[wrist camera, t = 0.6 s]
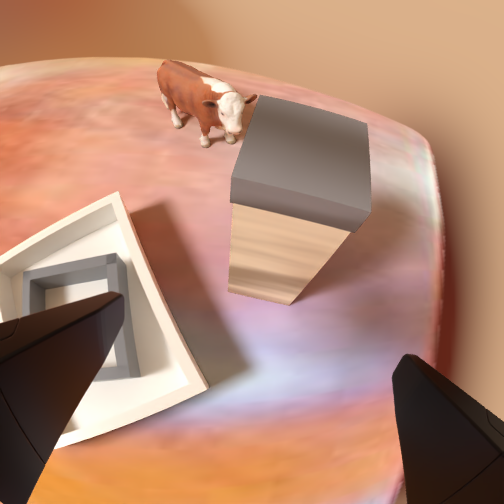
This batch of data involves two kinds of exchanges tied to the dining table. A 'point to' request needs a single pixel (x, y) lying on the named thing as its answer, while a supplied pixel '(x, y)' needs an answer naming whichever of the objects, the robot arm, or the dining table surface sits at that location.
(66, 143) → the dining table surface
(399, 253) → the dining table surface
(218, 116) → the bull figurine
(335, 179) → the wooden block
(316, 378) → the dining table surface
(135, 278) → the walled box
